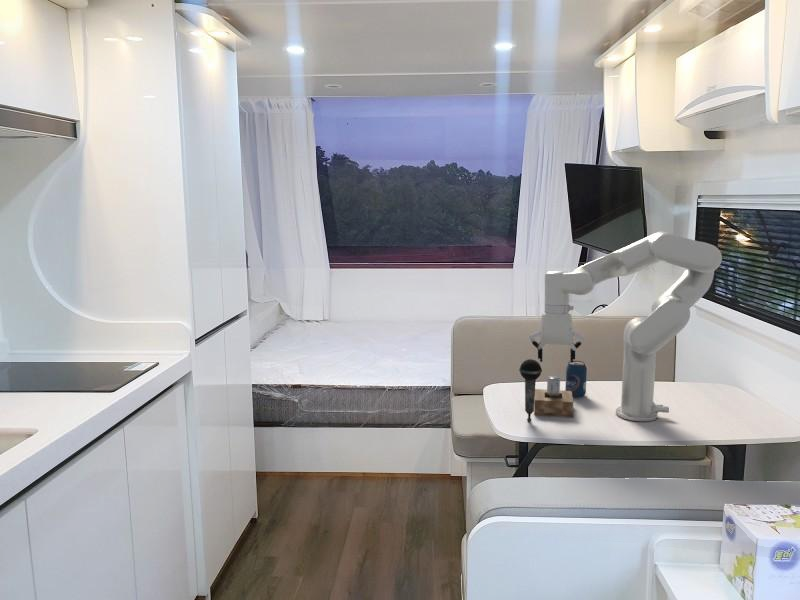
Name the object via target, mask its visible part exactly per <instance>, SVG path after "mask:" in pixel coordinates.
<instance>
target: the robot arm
mask: <svg viewBox="0 0 800 600" xmlns="http://www.w3.org/2000/svg"><path fill="white" fill-rule="evenodd" d="M722 261H723V256H722V252H721V251H720V249H719V248H718V247H717V246H715V245H713V244H710V243H708V242H704V241H699V240H694V239H691V238H687V237H684V236H680V235H677V234H674V233H671V232H667V231H662V230H661V231H657V232H655V233H652V234H650V235H648V236H646V237H644V238H642V239H639V240H637V241H635V242H632V243H631V244H629V245H627V246H624V247H622V248H619V249H617V250H615V251H613V252H610V253H608V254H606V255H604V256H601V257H599V258H597V259H595V260H592V261H589V262H588V263H584V265H580V266H579V267H577V268H575V269H573V270H572V272H567V271H565V270H550V271H549V270H548V271H547V272H546V273H545V274H544V312H542V314H541V319H540V329H539V330H538V331H536V332H534V333H532V334H529V336H528V337H529V340H530V342H531V344H532V345H533V346H534V347H535V348H536V349H537V359H538V360H539V362H540V363H542V362H543V347H544V346H545V345H559V346H560V345H562V346H563V345H564V346H565V345H566V346H569V348H570V351H569V352H570V355H569V356H570V357H569V359H570V360H569V361H571V363H573V361H574V360H576V350H577V349H578V348H580V347H581V345H582V343H583V341H585V336H584V335H583V334H581V333H579V332H576V331H575V330H573V329H574V328H573V326H574V325H573V317H572V313H571V312H570V311H574V305H571V304H570V303H569V302H570V300H569V299H570V295H576V296H577V295H578V296H586V295H589V294H590V293H591V292H592V291H593V290H594V289H595V286H596V285H598V284H601V283H602V282H605V281H607V280H609V279H613V278H617V277H618V278H619V277H627V276H629V275H633V274H635V273H637V272H640V271H641V270H643V269H646V268H648V267H650V266H653V265H655V264H658V263H660V262H664V263H667V264H670V265H673V266H676V267H679V268H683V269H684V270H683V272H682V275H681V276H680V277H679V278H678V279H677V280H676V281H675V282H674V283H673V284H672V285H671V286H670V287H669V288H668V289H667V290H666V291H665V292H663V293H662V294H661V295H660V296H659V297H657V298H656V299H655V300H654V301H653V303H652V305H651V313H650V314H649V315H648V316H647V317H642V316H641V317H640V316H638V317H634V318H632V319H630V320H629V321H628V322H627V324H626V325H625V327H624V330H623V360H622V361H623V363H622V364H623V365H622V367H623V368H622V382H621V383H622V384H621V401H620V406H618V407H616V408H615V414H616V415H617V416H618V417H620V418H621V419H625V420H628V421H633V422H652V421H655V420H657V419H658V415H659V414H658V413H666V414H668V413H670V407H669V406H664V405H663V404H656V403H655V402H654V396H655V395H654V393H655V379H656V378H655V376H656V363H657V361H656V359H657V356H656V354H657V352H658V351H659V350H661V349H662V348H663V347H664V346H665V345H666V344H667V343H669V342H670V341H671V340H672V339H673V338H675V336H677V334H679V333H680V332H681V331H682V330H683V329H684V328H685V327H686V325H688V324H689V321H690V319H691V308H692V307H694V305H696V303H698V301H699V300H700V299H702V297H704V295H705V294H706V293H707V292H708V291H709V289H710V288H711V285H712V283H713V280H714V275H715V271H716V270H717V269H718V268H719V267H720V265H721V264H722ZM537 337H540V341H539V342H537V341H536V339H535V338H537ZM573 337H575V338H577V339H578V340H577V341H576V342H575V343H574V342H573V340H574V338H573ZM656 418H657V419H656Z"/></svg>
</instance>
